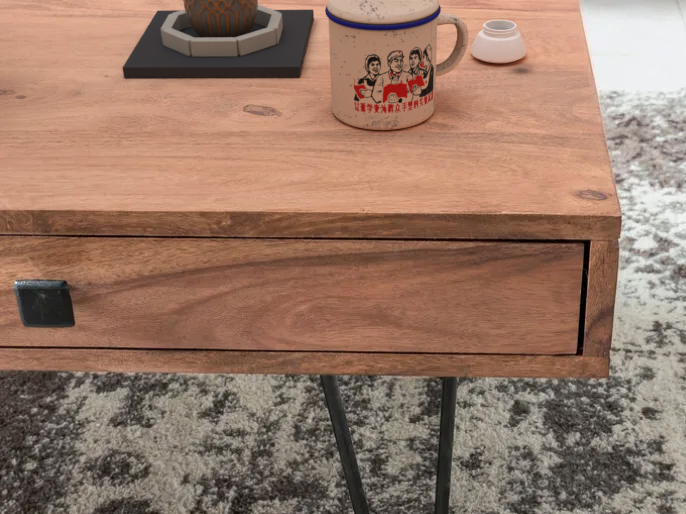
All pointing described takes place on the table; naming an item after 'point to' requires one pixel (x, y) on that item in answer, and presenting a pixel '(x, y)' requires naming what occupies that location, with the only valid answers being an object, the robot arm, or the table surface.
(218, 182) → the table surface
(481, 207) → the table surface
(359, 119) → the teacup with lid
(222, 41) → the base pad
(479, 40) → the white jar
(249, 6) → the vase
